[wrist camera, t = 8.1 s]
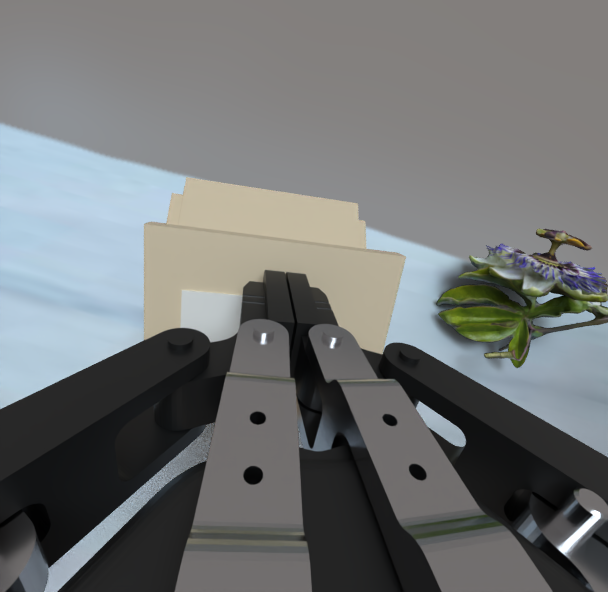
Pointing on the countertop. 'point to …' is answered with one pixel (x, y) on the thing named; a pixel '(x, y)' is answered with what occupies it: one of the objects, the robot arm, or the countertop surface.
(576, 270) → the passion flower
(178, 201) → the carton
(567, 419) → the countertop surface
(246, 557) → the robot arm
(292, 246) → the flap
